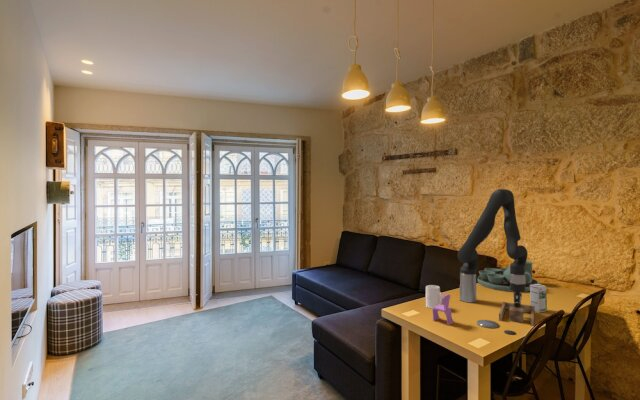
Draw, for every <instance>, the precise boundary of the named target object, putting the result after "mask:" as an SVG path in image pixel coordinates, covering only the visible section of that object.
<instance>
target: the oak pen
mask: <svg viewBox="0 0 640 400" xmlns="http://www.w3.org/2000/svg"><path fill="white" fill-rule="evenodd" d="M510 307H515V306H514V302H508V301H507V302H505V301H503V302H502V304H501V308H500V310H499V313H498V321H499V322H502V321H503V317H504V315H505V312H506V310H509V309H510ZM521 308H523V313H524V312H525V313H530V327H534V322H535V314H536V313H535V312H536V311H534V306H530V305H528V304H522V303H521Z"/></svg>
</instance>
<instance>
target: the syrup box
mask: <svg viewBox="0 0 640 400" xmlns="http://www.w3.org/2000/svg"><path fill="white" fill-rule="evenodd" d="M529 298H530V299H529V300H530V301H529V302H530V305H529V306H534V311H535V312H536V313H545V312H547V311H548V308H547V307H548V305H547V304H548V301H547V300H548V299H547V286H546V285H544V284H541V283H540V284H533V285H530V292H529Z"/></svg>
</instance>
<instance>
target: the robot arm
mask: <svg viewBox="0 0 640 400" xmlns="http://www.w3.org/2000/svg"><path fill="white" fill-rule="evenodd" d="M515 206H516V205H515V197H514V194H513V192H512V191H511V190H510V189H505V188H504V189H502V188H501V189H500V188H498V189H495V190H494V191H493V192H492V193H491V195H490V197H489V199H488V202H487V203H486V206H485V208H484V210H483V211H482V212H481V214H480V216H479V218H478V220H477V221H476V222H475V225H474V226H473V228H472V230H471V231H470V234H469V235H468V237H467V239H466V240H465V241H464V243H463V245H462V246H461V247H460V248H459V250H458V251H457V258H458V261H459V262H461V263H463V264H462V266H461V267H460V269H459V271H460V272H459V279H460V280H459V282H460V284H459V301H462V302H463V303H464V302H465V303H476V302H477V301H478V300H477V298H478V297H477V271H478V267H479V266H478V264H479V254H478V251H477V250H476V249H477V248H478V246H479V245H480V244H481V243H483V242H484V241H485V240H486V239H487V238H488V236H489V235H491V232H492V230H493V229H494V228H495V222H496V216H497V214H498V213H499V210H500V209H501V208H502V209H503V215H504V217H503V231H504V235H505V238H506V243H505V244H506V245H505V246H506V247H505V248H506V255H508V257H509V258H510V259H512V260H513V262H511V263H510V265H509V267H510V290H512V291H515V292H513V295H512V296H513V303H514V306H515V307H517V308H521V304H522V299H523V298H522V297H523V294H522V293H526V292H525V290H526V289H525V264H526V261H528V260H527V259H528V250H527V248H526V247H525V246H524V245H518V242H519V241H521V234H520V231H519V225H518V222H517V216H516V215H517V214H516V208H515Z"/></svg>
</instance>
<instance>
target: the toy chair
mask: <svg viewBox="0 0 640 400" xmlns="http://www.w3.org/2000/svg"><path fill="white" fill-rule="evenodd" d="M443 296H444V297H443V298H442V300H441V299H440V302H441V304H443V305H438V306H436V307H433V309H432V321H433V322H435V321H437V320H439V319H440V316H439V315H440V314H439V311H441V312H442V313H444V315H445V317H446V326H449V325H451V324H453V323H454V319H453V315H452V309H451V307H450V306H449V304H450V299H451V294H449V293H447V294H445V295H443ZM438 318H439V319H438ZM436 319H437V320H436ZM434 320H435V321H434ZM452 322H453V323H452ZM450 323H451V324H450ZM448 324H449V325H448Z"/></svg>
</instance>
